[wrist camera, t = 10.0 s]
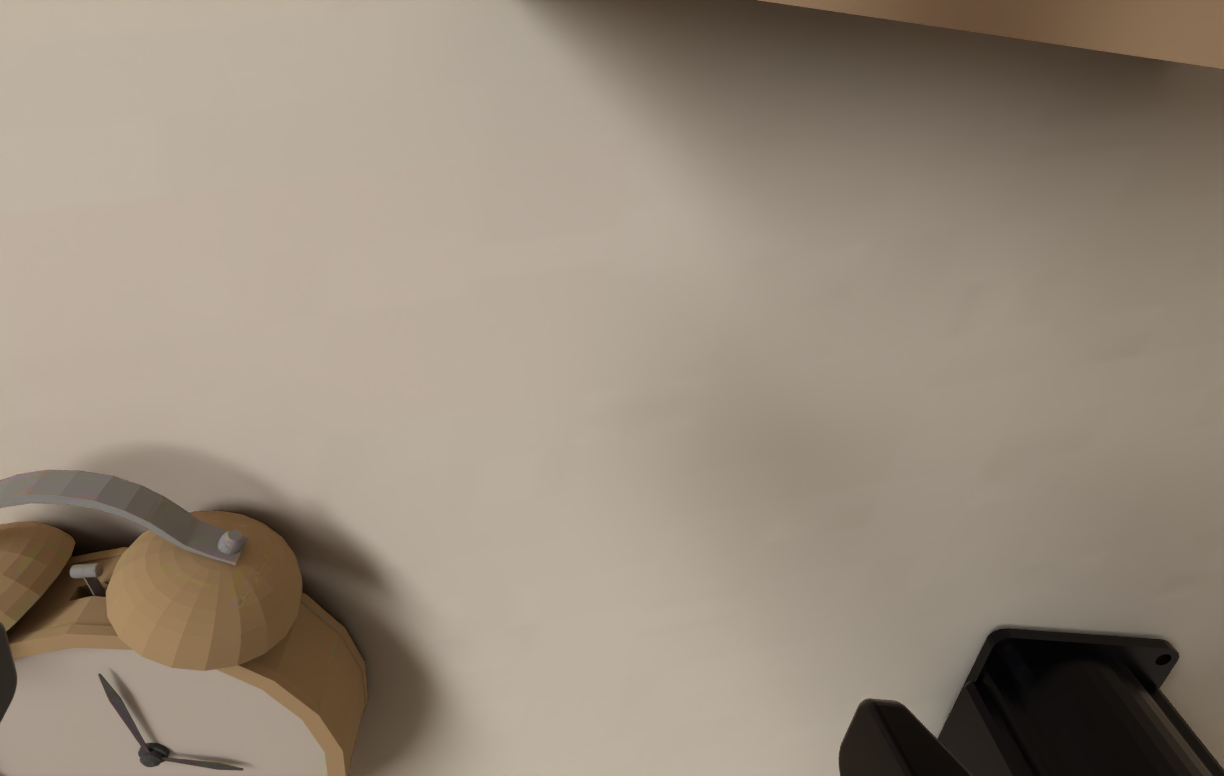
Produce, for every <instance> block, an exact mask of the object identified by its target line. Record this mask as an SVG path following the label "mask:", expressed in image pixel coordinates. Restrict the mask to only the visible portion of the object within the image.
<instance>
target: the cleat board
mask: <svg viewBox="0 0 1224 776" xmlns="http://www.w3.org/2000/svg"><path fill="white" fill-rule="evenodd" d="M759 1H766V2H773V3H780V4H786V5H793V6H800V7H807V8H814V9H820V10H827V11H834V12H841V13H847V14H854V15H861V16H868V17H874V18H881V19H888V20H895V21H901V22H908V23H915V24H922V25H929V26H935V27H942V28H949V29H956V30H962V31H969V32H976V33H983V34H989V35H996V36H1003V37H1010V38H1016V39H1023V40H1030V41H1037V42H1043V43H1050V44H1057V45H1064V46H1071V47H1077V48H1084V49H1091V50H1098V51H1104V52H1111V53H1118V54H1125V55H1131V56H1138V57H1145V58H1152V59H1158V60H1165V61H1172V62H1179V63H1186V64H1192V65H1199V66H1206V67H1213V68H1219V69H1224V0H759Z"/></svg>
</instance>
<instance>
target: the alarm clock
mask: <svg viewBox="0 0 1224 776" xmlns="http://www.w3.org/2000/svg"><path fill="white" fill-rule="evenodd" d="M29 503H42V504H66V505H72V506H79V507H86V508H92V509H98V510H101V511H104V512H107V513H111V514H114V515H117V516H120V517H123V518H126V519H128V520H130V521H132V522H135V523H137V524H139V525H141V526H143V527H145V528H147V529H149V530H147V531H145V532H144V533H143V534H142V535H140V536H139V537H138V538H137V539H136V540H135V541H134V542H133V544H132V545H131V546H130V547H122V548H117V549H111V550H106V551H100V552H95V553H89V554H84V555H79V556H73V557H71V555H72V552H73V549H74V546H75V541H74V539H73V537H72V536H70V535H69V534H67V533H65V532H64V531H62V530H60V529H58V528H55V527H53V526H51V525H48V524H43V523H38V522H16V523H8V524H1V525H0V622H1V623H2V624H3V625H4V627H5V629H6V633H7V637H8V641H9V645H10V649H11V652H12V656H13V660H14V664H15V668H16V672H17V687H16V691H15V694H14V697H13V700H12V702H11V704H10V706H9V708H8V710H7V711H6V713H5V715H4V717H3V719H2V721H1V723H0V776H349V766H350V762H351V758H352V754H353V750H354V746H355V742H356V738H357V734H358V730H359V726H360V722H361V718H362V714H363V712H364V710H365V708H366V705H367V701H368V687H367V675H366V663H365V662H364V660H363V658H362V656H361V655H360V653H359V651H358V650H357V648H356V646H355V644H354V643H353V641H352V639H351V638H350V636H349V634H348V632H347V631H346V629H345V628H344V627H343V626H342V625H341V624H340V623H339V622H337V621H336V620H335V619H334V618H333V617H332V616H331V615H329V614H328V613H327V612H326V611H325V610H324V609H322V608H321V607H320V606H319V605H318V604H317V603H316V602H314V601H313V600H312V599H311V598H310V597H309V596H307V595H306V594H304V593H302V577H301V573H300V569H299V565H298V561H297V558H296V556H295V554H294V552H293V551H292V550H291V548H290V547H289V546H288V544H287V543H286V541H285V540H284V539H283V537H281V536H280V535H279V534H277V533H276V532H275V531H273V530H272V529H271V528H269V527H268V526H267V525H265V524H264V523H262V522H260V521H257V520H255V519H252V518H250V517H247V516H245V515H243V514H237V513H231V512H225V511H198V512H192V513H188V512H187V511H185V510H184V509H183V508H181V507H180V506H178V505H176V504H175V503H173V502H172V501H170V500H169V499H167V498H166V497H164V496H162V495H160V494H158V493H156V492H154V491H152V490H150V489H148V488H145V487H143V486H141V485H138V484H135V483H132V482H129V481H126V480H123V479H120V478H117V477H114V476H109V475H103V474H96V473H90V472H84V471H69V470H43V471H36V472H30V473H24V474H17V475H15V476H12V477H9V478H6V479H3V480H0V508H2V507H9V506H15V505H22V504H29Z"/></svg>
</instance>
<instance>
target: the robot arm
mask: <svg viewBox="0 0 1224 776" xmlns="http://www.w3.org/2000/svg"><path fill="white" fill-rule="evenodd" d="M1178 658H1179V654H1178V652H1177V651H1176V650H1175V648H1174V647H1173V646H1172V645H1171V644H1170V643H1169V642H1168V641H1166V640H1160V639H1146V638H1131V637H1117V636H1103V635H1089V634H1075V633H1061V632H1047V631H1033V630H1018V629H999V630H997V631H994V632H993V633H991V634H990V635H989V636H988V638H987V639H986V641H985V643H984V645H983V647H982V649H981V651H980V653H979V655H978V657H977V659H976V662H975V664H974V666H973V668H972V670H971V672H970V674H969V676H968V678H967V680H966V682H965V684H964V686H963V688H962V690H961V692H960V694H959V696H958V698H957V701H956V703H955V705H954V707H953V709H952V711H951V713H950V715H949V717H948V719H947V721H946V723H945V725H944V727H943V729H942V731H941V733H940V735H939V738H938V739H937V738H936V737H935V736H934V735H933V734H932V733H931V732H930V731H929V730H928V729H927V728H926V727H925V726H924V725H923V724H922V723H921V722H920V721H919V720H918V719H917V718H916V717H915V716H914V715H913V714H912V713H911V712H910V711H909V710H908V709H907V708H906V707H905V706H904V705H903V704H901V703H899V702H897V701H892V700H881V699H870V698H869V699H865V700H863V701H862V702H861V703H860V704H859V706H858V708H857V710H856V712H855V715H854V717H853V719H852V721H851V723H850V726H849V728H848V730H847V732H846V734H845V737H844V739H843V741H842V743H841V746H840V751H839V770H840V776H1224V769H1223V768H1222V767H1221V766H1220V764H1219V763H1218V762H1217V761H1216V759H1215V758H1214V757H1213V756H1212V754H1211V753H1210V752H1209V751H1208V749H1207V748H1206V747H1205V746H1204V744H1203V743H1202V742H1201V741H1200V739H1199V738H1198V737H1197V736H1196V734H1195V733H1194V732H1193V731H1192V729H1191V728H1190V727H1189V726H1188V724H1187V723H1186V722H1185V720H1184V719H1183V718H1182V717H1181V715H1180V714H1179V713H1178V712H1177V710H1176V709H1175V708H1174V707H1173V705H1172V704H1171V703H1170V702H1169V700H1168V699H1167V698H1166V697H1165V695H1164V694H1163V693H1162V692H1161V690H1160V689H1159V688H1160V687H1161V685H1162V684H1163V682H1164V680H1165V679H1166V677H1167V676H1168V674H1169V673H1170V671H1171V670H1172V668H1173V667H1174V665H1175V664H1176V662H1177V661H1178ZM16 687H17V672H16V668H15V664H14V660H13V656H12V652H11V649H10V645H9V641H8V637H7V633H6V629H5V627H4V625H3V624H2V623H1V622H0V723H1V721H2V719H3V717H4V715H5V713H6V711H7V710H8V708H9V706H10V704H11V702H12V700H13V697H14V694H15V691H16Z"/></svg>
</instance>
